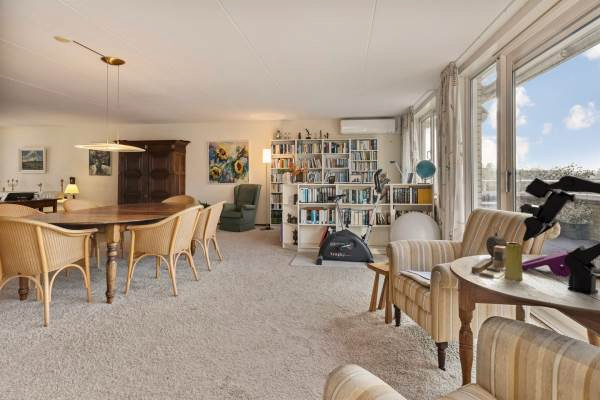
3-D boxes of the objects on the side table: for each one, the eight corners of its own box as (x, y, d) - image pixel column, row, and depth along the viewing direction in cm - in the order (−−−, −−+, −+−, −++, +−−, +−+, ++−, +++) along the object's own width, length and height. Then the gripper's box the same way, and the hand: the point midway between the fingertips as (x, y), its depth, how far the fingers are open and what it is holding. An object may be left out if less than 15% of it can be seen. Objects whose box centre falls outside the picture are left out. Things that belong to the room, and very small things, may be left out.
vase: (522, 281, 127) (523, 245, 126) (504, 279, 130) (505, 244, 129) (522, 277, 132) (522, 242, 131) (504, 275, 135) (505, 241, 134)
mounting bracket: (528, 285, 139) (578, 274, 128) (518, 267, 141) (567, 254, 130) (529, 279, 146) (577, 268, 136) (520, 262, 148) (566, 249, 137)
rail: (513, 266, 147) (513, 246, 146) (497, 279, 130) (497, 256, 129) (487, 262, 155) (487, 243, 154) (469, 274, 138) (469, 252, 137)
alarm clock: (507, 262, 154) (508, 228, 153) (496, 262, 154) (497, 228, 153) (494, 256, 165) (495, 225, 164) (483, 256, 165) (484, 225, 164)
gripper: (539, 193, 132) (517, 225, 139) (522, 196, 121) (499, 230, 127) (568, 208, 125) (544, 240, 132) (554, 212, 113) (527, 247, 120)
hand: (528, 239), depth 128 cm, fingers open, 9 cm apart
